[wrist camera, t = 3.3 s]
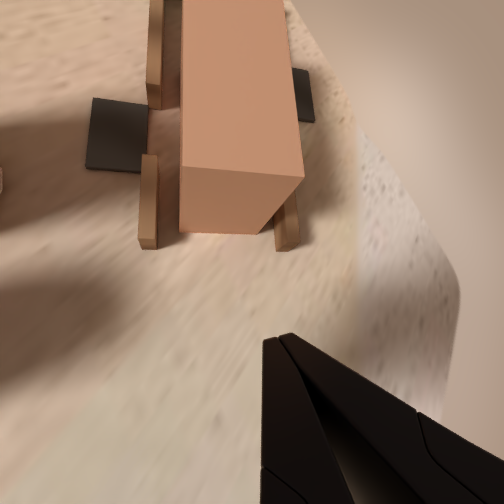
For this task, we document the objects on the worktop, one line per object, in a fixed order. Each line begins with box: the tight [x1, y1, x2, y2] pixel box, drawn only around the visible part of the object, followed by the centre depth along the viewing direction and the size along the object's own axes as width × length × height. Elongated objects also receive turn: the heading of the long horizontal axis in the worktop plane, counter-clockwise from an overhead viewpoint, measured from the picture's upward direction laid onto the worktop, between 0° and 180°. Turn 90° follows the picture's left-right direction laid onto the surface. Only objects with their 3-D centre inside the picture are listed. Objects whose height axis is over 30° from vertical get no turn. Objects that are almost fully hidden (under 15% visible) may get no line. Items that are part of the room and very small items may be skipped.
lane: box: [85, 0, 315, 252], centre depth 23 cm, size 26×19×3 cm
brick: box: [179, 0, 305, 235], centre depth 20 cm, size 15×6×9 cm, turn 4°
